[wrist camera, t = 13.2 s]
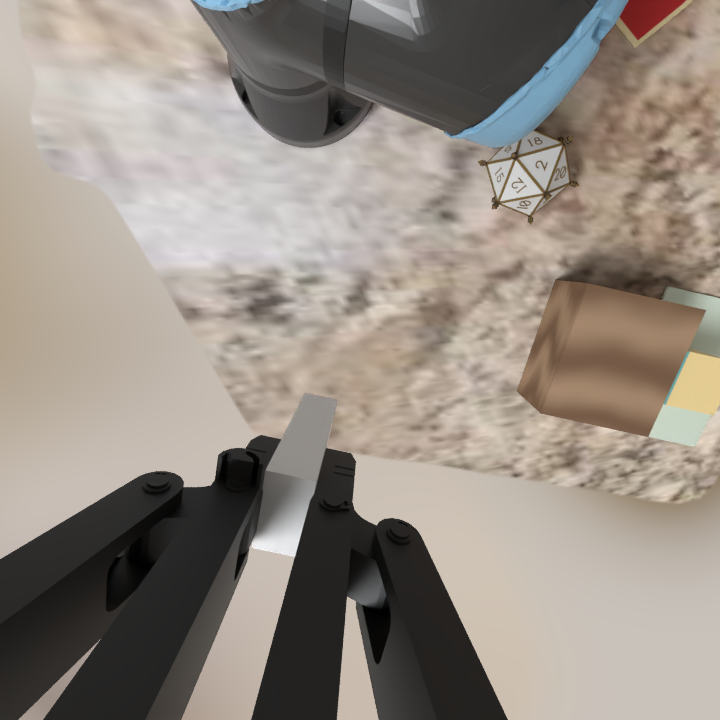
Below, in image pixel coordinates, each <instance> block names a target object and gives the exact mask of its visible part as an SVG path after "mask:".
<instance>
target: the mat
mask: <svg viewBox="0 0 720 720" xmlns="http://www.w3.org/2000/svg"><path fill="white" fill-rule="evenodd" d="M661 300H664V301H669V302H673V303H677V304H682V305H686V306H691V307H695V308H699V309H704V310H706V312H705V314H704V317H703V319H702V321H701V323H700V325H699V328H698V330H697V332H696V334H695V336H694V338H693V341H692V343H691V345H690V347H689V349H692V350H696V351H699V352H703V353H707V354H710V355H714V356H717V357H720V298H717V297H712V296H708V295H703V294H699V293H695V292H690V291H686V290H682V289H677V288H673V287H669V286H667V287H666V289H665V291H664V294H663V296H662V298H661ZM709 417H710V414H705V413H701V412H696V411H692V410H687V409H682V408H678V407H673V406H669V405H664V404H663V406H662V408H661V410H660V412H659V415H658V417H657V419H656V421H655V423H654V426H653V428H652V430H651V432H650V434H649V436H648V437H652V438H657V439H661V440H666V441H670V442H675V443H679V444H684V445H688V446H693V447H695V445H696V443H697V441H698V439H699V437H700V435H701V433H702V431H703V429H704V427H705V425H706V423H707V421H708V419H709Z"/></svg>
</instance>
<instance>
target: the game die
mask: <svg viewBox="0 0 720 720" xmlns="http://www.w3.org/2000/svg"><path fill="white" fill-rule="evenodd" d="M563 138H564V137H560V138H558V139H556V138H553V137H551V136H549V135H546V134H544V133H542V132H539V131H537V130H535V129H534V130H533V131H532V132H531V133H530V134H528V135H527V136H526V137H524V138H523V139H521V140H520V141H518V142H516V143H514V144H512V145H509V146H504V147H502V148H501V149H500V150H499V151H498V152H497V153H496V154H495V155H494V156H493V157H492V158H491V159H490V160H489V161H488V162H486V161H485V160H484V161H483V160H481V161H478V163H479V164H480V166H481V165H482V166H486V167H487V170H488V174H489V177H490V181H491V184H492V188H493V191H494V194H495V197H494V198H492V202H494V204H493V205H492V209H497V207H498V205H502V206H504V207H507V208H509V209H512V210H514V211H517V212H519V213H522V214H524V215H527V216H528V222H529V223H530V224H532V222H533V218H532V215H533V214H535V213H536V212H537V211H538V210H539V209H541V208H542V207H543V206H544V205H545V204H547V203H548V202H549V201H550V200H551V199H553V198H554V197H555V196H556V195H557V194H559V193H560V192H561V191H562V190H564V189H565V188H566V187H567V186H568V185H571V186H573V187H576V186H579V184H578V183H577V181H571V180H570V173H569V166H568V159H567V152H566V145H567V144H569V143H571V141H572V138H573V136H572V137H567V138H566V139H565V140H564V142H563ZM496 201H497V202H496ZM495 202H496V203H495Z"/></svg>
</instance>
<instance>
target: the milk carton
mask: <svg viewBox="0 0 720 720" xmlns="http://www.w3.org/2000/svg"><path fill="white" fill-rule="evenodd" d="M692 1H693V0H629V1H628V3H627V4H626V6H625V8H624V10H623V11H622V13H621V15H620V17H619V18H618V20H617V22H616V25H617V26H618V28H619V29H620V30H621V31H622V33H623V34H624V35H625V36H626V38H627V39H628V40H629V42H630V43H631V44H632V45H633V47H634V48H636V47H637V46H638V45H640V44H641V43H642V42H643V41H644V40H646V39H647V38H648V37H649V36H651V35H652V34H653V33H654V32H656V31H657V30H658V29H659V28H661V27H662V26H663V25H664V24H666V23H667V22H668V21H669V20H670V19H672V18H673V17H674V16H675V15H677V14H678V13H679V12H680V11H682V10H683V9H684V8H685V7H687V6H688V5H689V4H690V3H691V2H692Z"/></svg>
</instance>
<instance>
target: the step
mask: <svg viewBox="0 0 720 720" xmlns="http://www.w3.org/2000/svg"><path fill="white" fill-rule="evenodd" d="M705 312H706V310H704V309H699V308H695V307H691V306H686V305H682V304H677V303H673V302H669V301H664V300H660V299H656V298H651V297H647V296H642V295H638V294H634V293H629V292H625V291H620V290H616V289H612V288H607V287H603V286H598V285H594V284H590V283H581V282H572V281H562V280H555V283H554V286H553V289H552V292H551V294H550V297H549V300H548V303H547V306H546V309H545V312H544V315H543V318H542V320H541V323H540V326H539V329H538V332H537V335H536V338H535V341H534V343H533V346H532V349H531V352H530V355H529V358H528V361H527V364H526V367H525V369H524V372H523V375H522V378H521V381H520V384H519V387H518V390H517V392H518V393H519V394H520V395H521V396H522V397H524V398H525V399H526V400H527V401H528V402H529V403H530V404H531V405H532V406H533V407H534V408H536V409H537V410H538V411H539V412H540V413H542V414H546V415H551V416H555V417H560V418H564V419H569V420H574V421H578V422H583V423H587V424H592V425H596V426H601V427H605V428H610V429H615V430H619V431H624V432H628V433H633V434H637V435H642V436H646V437H648V436H649V434H650V432H651V430H652V428H653V426H654V423H655V421H656V419H657V417H658V415H659V412H660V410H661V408H662V406H663V404H664V402H665V399H666V397H667V395H668V393H669V391H670V389H671V386H672V384H673V382H674V380H675V378H676V375H677V373H678V371H679V369H680V367H681V365H682V362H683V360H684V358H685V356H686V354H687V351H688V349H689V347H690V345H691V343H692V341H693V338H694V336H695V334H696V332H697V330H698V328H699V325H700V323H701V321H702V319H703V317H704V314H705Z"/></svg>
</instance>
